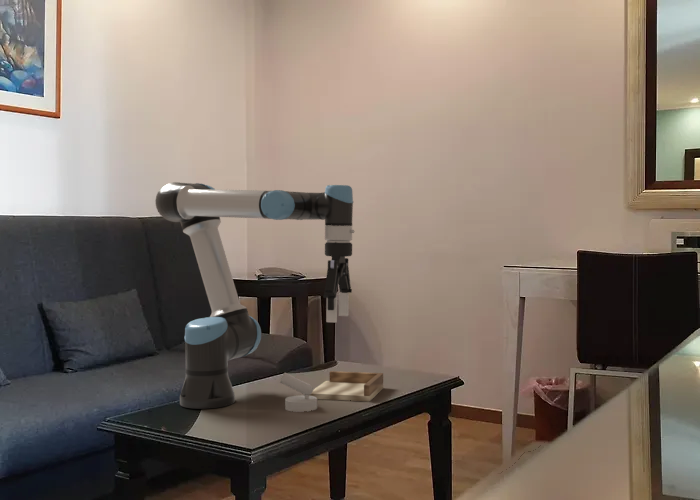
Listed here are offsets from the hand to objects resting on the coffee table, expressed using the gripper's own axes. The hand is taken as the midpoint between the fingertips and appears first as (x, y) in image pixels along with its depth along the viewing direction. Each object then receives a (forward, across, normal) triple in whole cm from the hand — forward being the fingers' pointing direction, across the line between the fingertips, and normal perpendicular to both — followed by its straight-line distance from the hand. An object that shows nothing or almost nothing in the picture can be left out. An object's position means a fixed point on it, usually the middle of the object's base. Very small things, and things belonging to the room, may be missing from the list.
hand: (337, 319), depth 207 cm
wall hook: (+24, -6, +9) cm, 26 cm away
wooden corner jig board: (+24, +14, 0) cm, 27 cm away
